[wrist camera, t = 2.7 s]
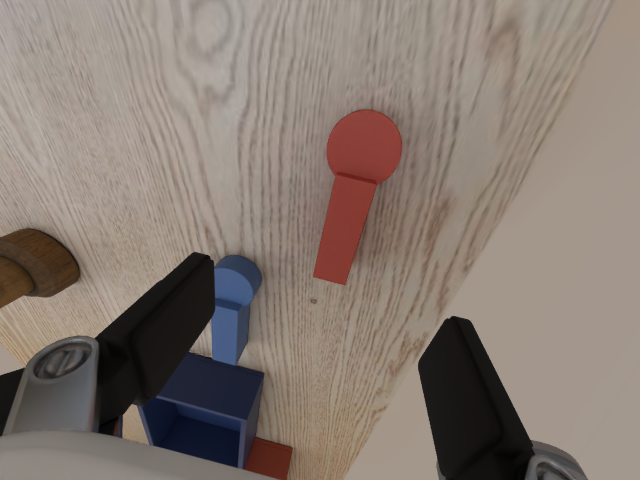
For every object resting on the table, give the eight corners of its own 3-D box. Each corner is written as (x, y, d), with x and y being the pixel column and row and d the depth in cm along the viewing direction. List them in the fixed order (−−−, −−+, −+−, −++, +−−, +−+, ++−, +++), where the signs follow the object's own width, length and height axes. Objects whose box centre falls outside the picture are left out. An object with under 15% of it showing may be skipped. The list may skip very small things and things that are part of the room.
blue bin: (255, 434, 36) (241, 478, 32) (176, 411, 37) (151, 452, 32) (264, 372, 29) (246, 420, 25) (165, 346, 29) (130, 387, 25)
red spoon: (358, 266, 20) (357, 288, 18) (307, 254, 20) (300, 274, 18) (407, 118, 15) (416, 120, 12) (338, 102, 15) (334, 101, 12)
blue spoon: (255, 344, 27) (244, 368, 24) (218, 334, 27) (203, 357, 24) (263, 261, 21) (250, 281, 19) (216, 249, 21) (198, 268, 19)
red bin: (281, 485, 44) (272, 527, 40) (215, 466, 45) (199, 505, 40) (292, 447, 37) (283, 493, 32) (213, 425, 37) (194, 468, 33)
